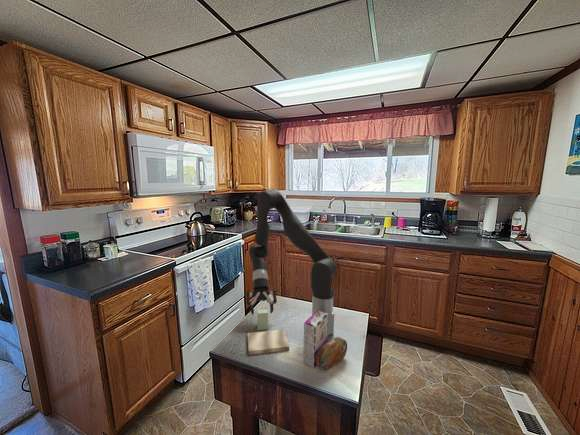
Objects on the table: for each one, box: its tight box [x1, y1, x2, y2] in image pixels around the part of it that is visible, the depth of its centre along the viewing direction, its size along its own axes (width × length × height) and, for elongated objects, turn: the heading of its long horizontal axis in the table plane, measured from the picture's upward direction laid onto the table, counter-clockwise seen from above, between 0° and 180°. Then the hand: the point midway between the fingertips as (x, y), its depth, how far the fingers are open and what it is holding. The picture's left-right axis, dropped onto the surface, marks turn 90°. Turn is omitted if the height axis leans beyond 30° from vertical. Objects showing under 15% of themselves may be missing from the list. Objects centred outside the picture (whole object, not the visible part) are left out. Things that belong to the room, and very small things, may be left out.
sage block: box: [256, 307, 269, 331], centre depth 113 cm, size 4×4×8 cm
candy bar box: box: [303, 310, 329, 369], centre depth 93 cm, size 11×5×16 cm, turn 147°
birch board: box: [247, 329, 290, 356], centre depth 102 cm, size 16×12×2 cm
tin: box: [316, 337, 348, 372], centre depth 91 cm, size 15×3×8 cm, turn 130°
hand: (262, 313), depth 114 cm, fingers open, 8 cm apart
